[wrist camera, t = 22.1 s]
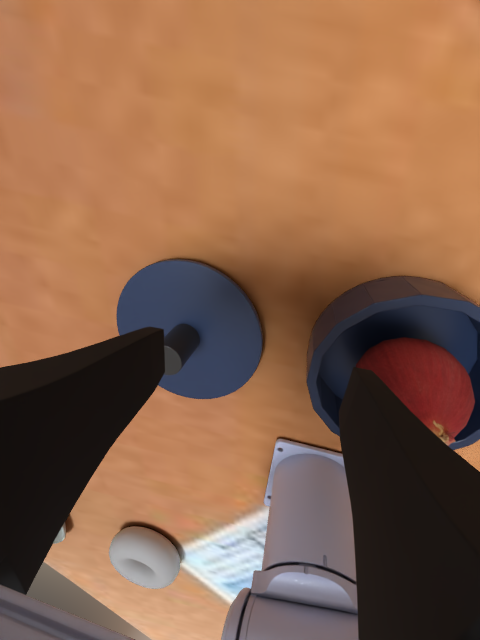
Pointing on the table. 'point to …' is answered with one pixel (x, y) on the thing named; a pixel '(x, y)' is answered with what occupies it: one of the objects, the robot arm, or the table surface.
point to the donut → (144, 557)
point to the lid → (195, 326)
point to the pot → (390, 323)
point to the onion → (424, 382)
